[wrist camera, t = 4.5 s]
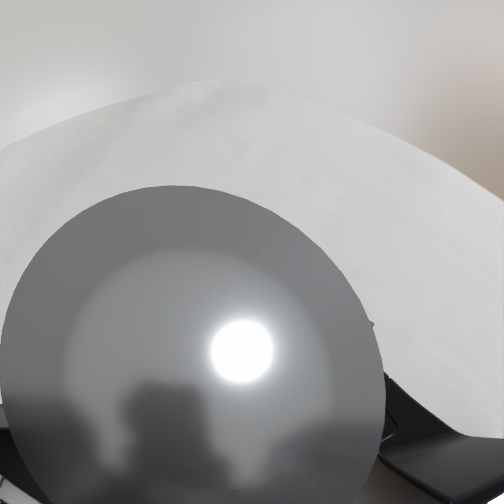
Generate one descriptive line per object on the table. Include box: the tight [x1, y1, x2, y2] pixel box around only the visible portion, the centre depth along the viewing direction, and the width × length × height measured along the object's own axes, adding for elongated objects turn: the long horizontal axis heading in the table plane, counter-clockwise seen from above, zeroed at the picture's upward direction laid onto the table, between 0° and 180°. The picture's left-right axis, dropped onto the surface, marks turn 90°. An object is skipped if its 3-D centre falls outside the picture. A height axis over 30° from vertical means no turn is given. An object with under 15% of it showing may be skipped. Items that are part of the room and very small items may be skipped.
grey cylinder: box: [0, 186, 386, 504], centre depth 9 cm, size 5×5×13 cm
